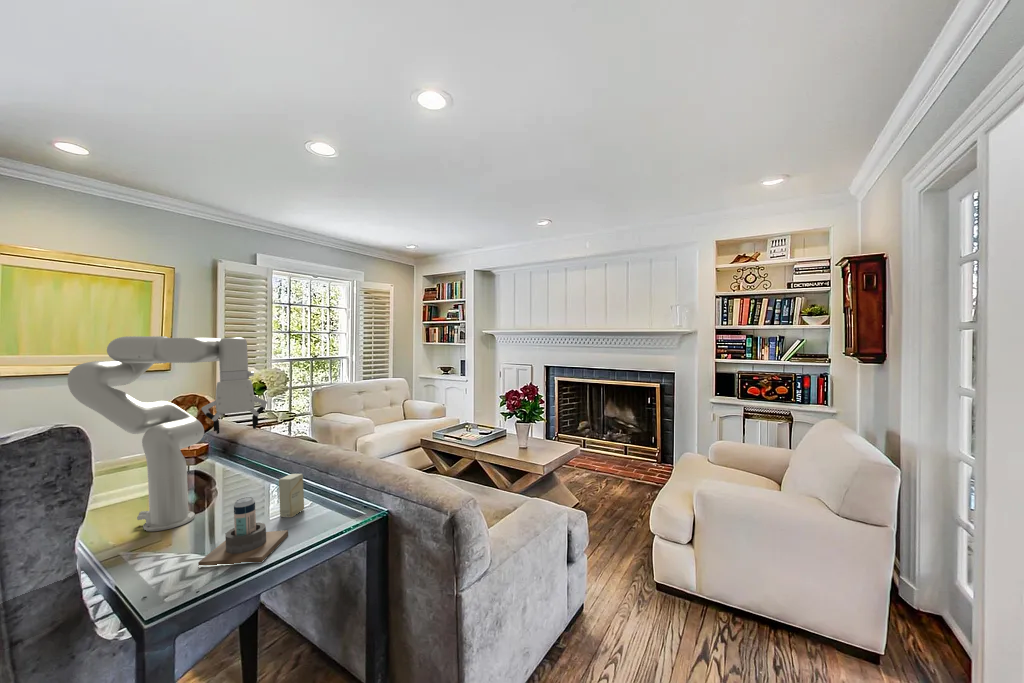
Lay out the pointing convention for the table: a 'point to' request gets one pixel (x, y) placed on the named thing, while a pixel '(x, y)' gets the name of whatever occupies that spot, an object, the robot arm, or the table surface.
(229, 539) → the can holder
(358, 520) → the table surface
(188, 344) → the robot arm
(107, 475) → the table surface
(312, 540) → the table surface
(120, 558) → the table surface
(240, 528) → the beer can
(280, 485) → the skincare box
